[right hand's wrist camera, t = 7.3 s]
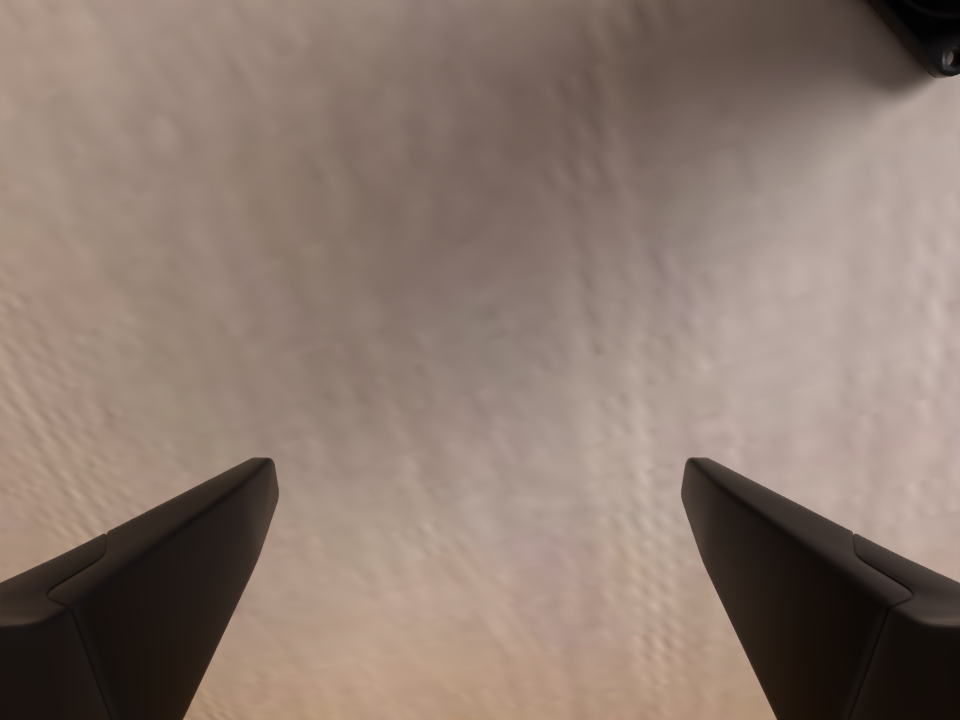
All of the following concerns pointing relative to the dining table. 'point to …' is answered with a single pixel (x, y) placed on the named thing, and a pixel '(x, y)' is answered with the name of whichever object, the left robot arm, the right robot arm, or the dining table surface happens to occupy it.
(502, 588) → the dining table surface
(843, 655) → the right robot arm
